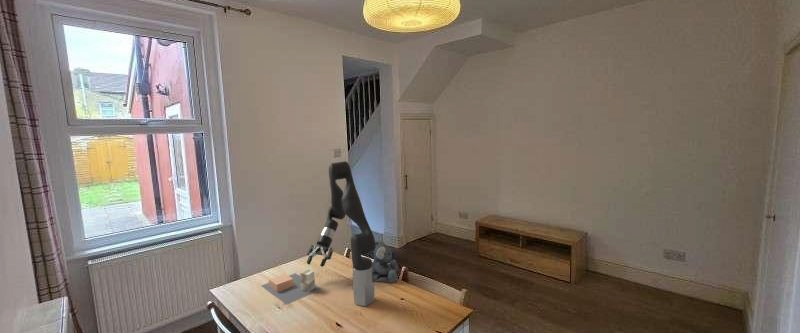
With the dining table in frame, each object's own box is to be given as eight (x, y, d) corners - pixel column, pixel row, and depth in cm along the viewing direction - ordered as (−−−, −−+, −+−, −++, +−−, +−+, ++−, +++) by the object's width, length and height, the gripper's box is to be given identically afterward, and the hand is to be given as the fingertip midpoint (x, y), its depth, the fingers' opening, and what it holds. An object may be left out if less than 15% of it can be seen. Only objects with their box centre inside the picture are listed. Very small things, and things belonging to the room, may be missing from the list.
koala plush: (397, 283, 169) (397, 248, 167) (364, 284, 169) (363, 248, 167) (398, 270, 186) (398, 237, 184) (368, 270, 187) (367, 238, 184)
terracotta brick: (293, 285, 167) (293, 278, 167) (277, 292, 160) (276, 284, 160) (285, 280, 173) (284, 273, 173) (269, 286, 167) (268, 279, 166)
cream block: (314, 287, 165) (314, 270, 164) (308, 291, 161) (308, 274, 160) (307, 285, 167) (306, 269, 166) (300, 290, 162) (300, 273, 161)
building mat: (322, 289, 163) (322, 288, 163) (286, 305, 149) (286, 304, 149) (295, 274, 182) (295, 273, 182) (260, 286, 168) (260, 285, 168)
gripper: (312, 233, 178) (300, 260, 169) (334, 235, 173) (322, 264, 163) (318, 239, 183) (307, 266, 174) (339, 242, 178) (329, 269, 169)
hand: (314, 265), depth 169 cm, fingers open, 8 cm apart
